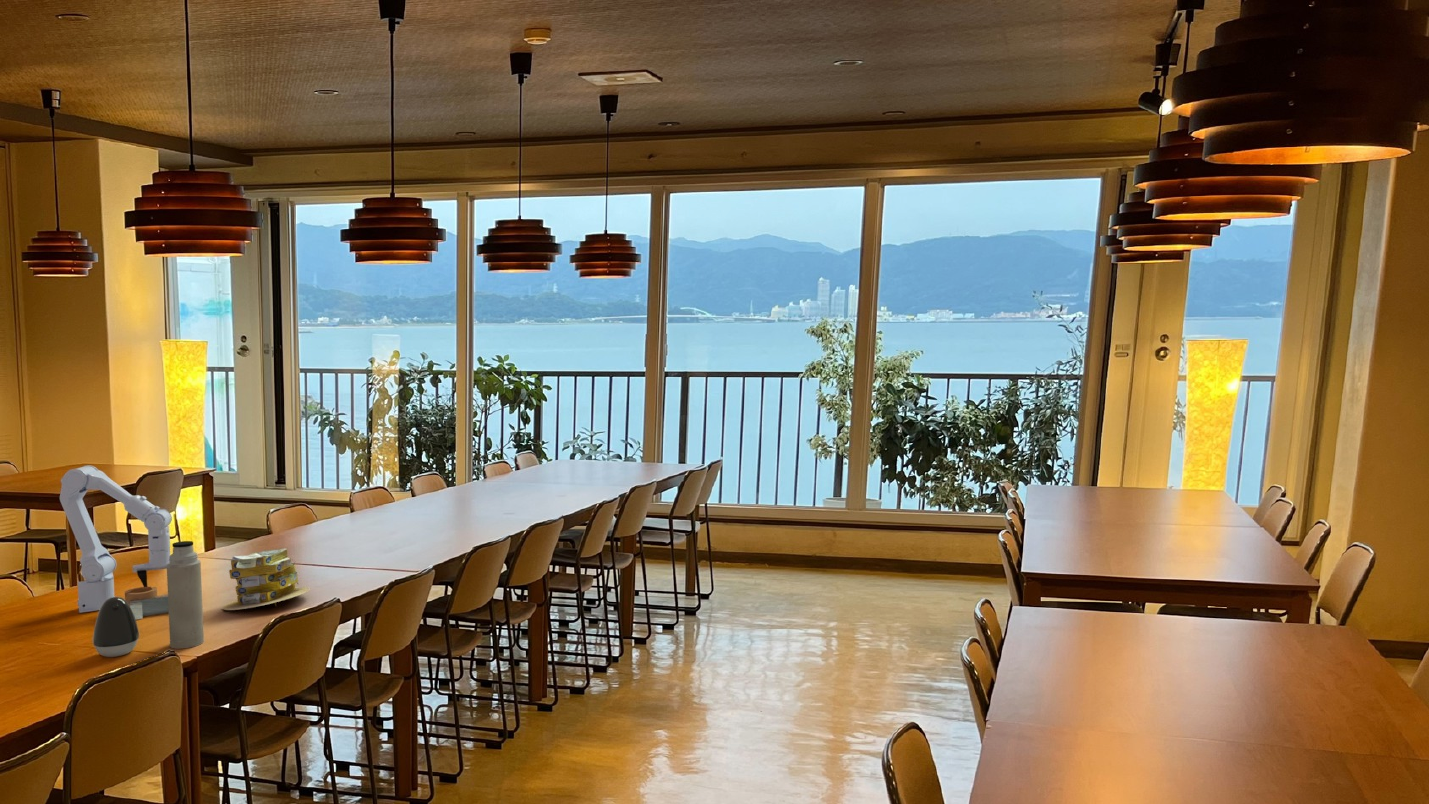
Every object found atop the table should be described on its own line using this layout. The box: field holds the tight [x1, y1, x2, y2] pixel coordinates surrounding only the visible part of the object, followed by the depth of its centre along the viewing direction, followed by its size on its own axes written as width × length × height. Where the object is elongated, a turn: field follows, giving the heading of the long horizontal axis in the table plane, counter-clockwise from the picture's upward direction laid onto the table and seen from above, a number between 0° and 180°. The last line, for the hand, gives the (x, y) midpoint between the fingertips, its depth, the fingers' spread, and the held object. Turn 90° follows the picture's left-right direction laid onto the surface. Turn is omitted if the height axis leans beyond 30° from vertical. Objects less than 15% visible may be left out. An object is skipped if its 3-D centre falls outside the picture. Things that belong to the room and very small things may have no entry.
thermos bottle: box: [166, 540, 205, 650], centre depth 249 cm, size 8×8×28 cm
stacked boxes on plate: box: [221, 548, 311, 611], centre depth 289 cm, size 25×25×17 cm
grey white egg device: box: [92, 596, 140, 658], centre depth 242 cm, size 10×10×15 cm
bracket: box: [124, 586, 168, 606], centre depth 285 cm, size 18×8×7 cm, turn 153°
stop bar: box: [130, 596, 169, 621], centre depth 278 cm, size 17×4×5 cm, turn 123°
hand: (161, 592), depth 288 cm, fingers open, 7 cm apart
